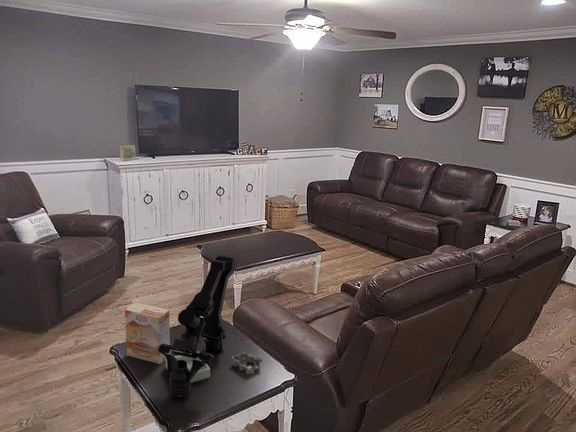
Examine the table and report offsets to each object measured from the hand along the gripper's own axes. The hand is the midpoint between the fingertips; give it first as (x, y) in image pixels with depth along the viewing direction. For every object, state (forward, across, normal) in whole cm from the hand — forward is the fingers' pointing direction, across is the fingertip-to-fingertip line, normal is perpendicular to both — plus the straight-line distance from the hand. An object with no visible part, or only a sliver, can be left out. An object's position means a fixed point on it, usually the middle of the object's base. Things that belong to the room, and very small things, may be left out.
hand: (177, 380), depth 143 cm
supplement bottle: (+4, 0, +6) cm, 7 cm away
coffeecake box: (-8, -22, +18) cm, 30 cm away
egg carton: (-12, +16, +22) cm, 29 cm away
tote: (-5, -3, +14) cm, 15 cm away
